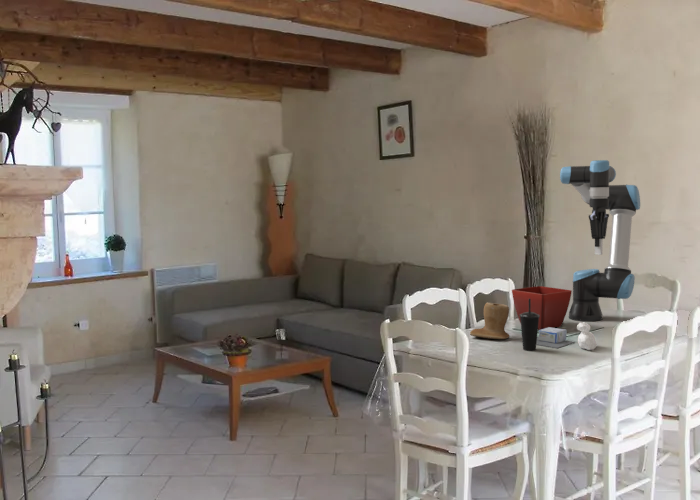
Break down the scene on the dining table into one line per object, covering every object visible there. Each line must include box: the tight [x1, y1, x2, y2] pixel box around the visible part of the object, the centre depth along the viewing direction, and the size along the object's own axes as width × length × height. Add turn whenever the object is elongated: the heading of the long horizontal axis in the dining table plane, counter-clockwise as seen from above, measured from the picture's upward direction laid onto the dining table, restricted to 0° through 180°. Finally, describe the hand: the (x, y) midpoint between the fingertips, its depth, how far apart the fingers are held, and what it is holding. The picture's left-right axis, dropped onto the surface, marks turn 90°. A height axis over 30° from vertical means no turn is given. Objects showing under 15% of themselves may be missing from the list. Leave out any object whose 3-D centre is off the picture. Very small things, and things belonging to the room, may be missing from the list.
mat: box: [536, 335, 576, 349], centre depth 280 cm, size 13×16×1 cm
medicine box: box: [538, 327, 567, 343], centre depth 282 cm, size 8×4×9 cm
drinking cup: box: [519, 299, 540, 352], centre depth 268 cm, size 8×8×20 cm
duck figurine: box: [576, 321, 598, 351], centre depth 269 cm, size 12×8×11 cm
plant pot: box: [511, 285, 573, 331], centre depth 310 cm, size 19×19×17 cm
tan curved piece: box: [469, 302, 510, 340], centre depth 290 cm, size 15×12×15 cm
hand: (598, 254), depth 288 cm, fingers closed
